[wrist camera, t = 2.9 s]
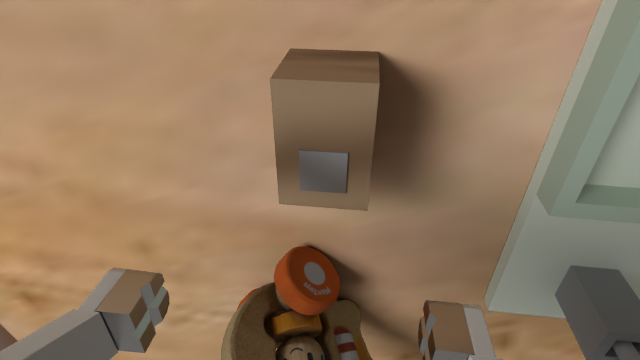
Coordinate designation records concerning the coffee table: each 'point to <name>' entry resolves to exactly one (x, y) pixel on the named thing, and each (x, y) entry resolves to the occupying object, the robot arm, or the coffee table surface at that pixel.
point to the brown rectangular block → (325, 126)
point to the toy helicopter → (296, 316)
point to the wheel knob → (625, 350)
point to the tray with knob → (585, 200)
